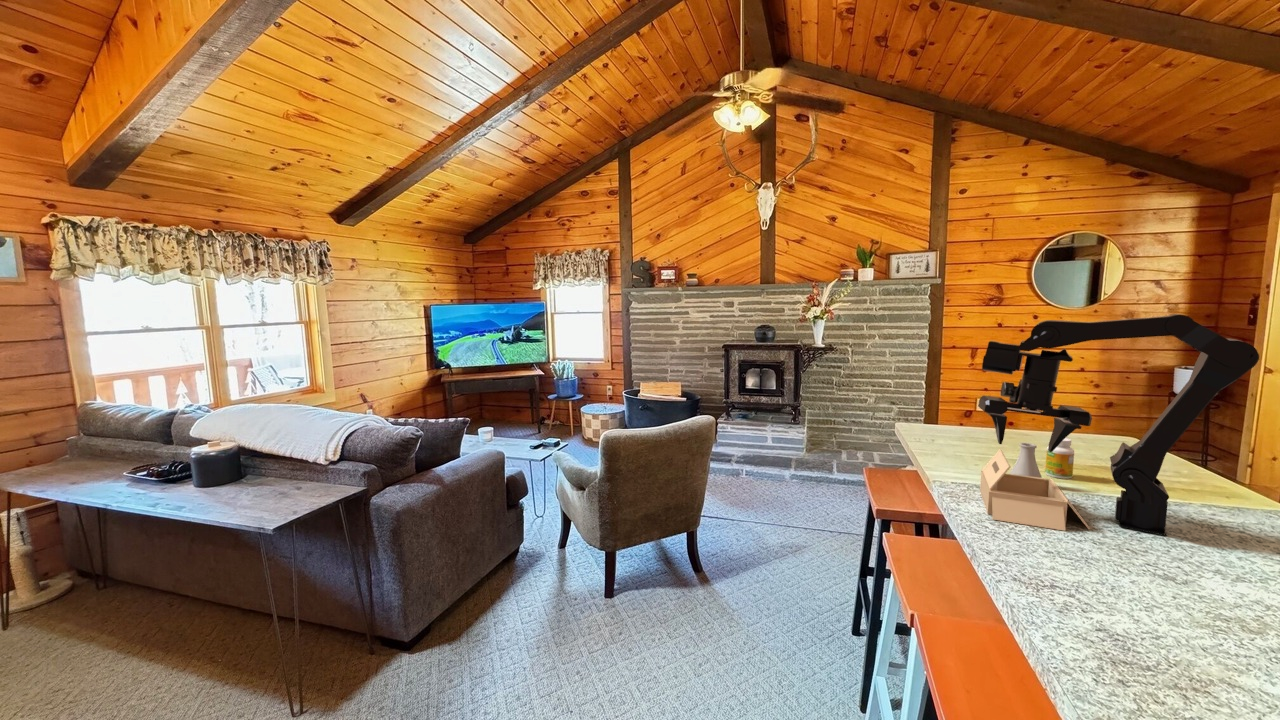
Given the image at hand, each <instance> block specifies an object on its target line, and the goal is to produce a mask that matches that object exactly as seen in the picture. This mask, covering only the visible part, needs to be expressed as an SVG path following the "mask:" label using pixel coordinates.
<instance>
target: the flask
mask: <svg viewBox="0 0 1280 720" xmlns="http://www.w3.org/2000/svg"><path fill="white" fill-rule="evenodd" d="M1018 445H1019V446H1020V448H1019V449H1020V450H1019V451H1020V452H1019V455H1018V458H1017V460H1016V462H1015V464H1013V467H1012V469H1011V471H1010V472H1009V473H1008V474H1014V475H1023V476H1031V477H1039V478H1043V477H1042V475H1041V472H1040V469H1039V466H1038V463H1037V461H1036V460H1037V459H1036V452H1035V451H1036V449H1037V448H1038V447H1037V445H1036V444H1035V443H1030V442H1020V443H1018Z"/></svg>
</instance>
